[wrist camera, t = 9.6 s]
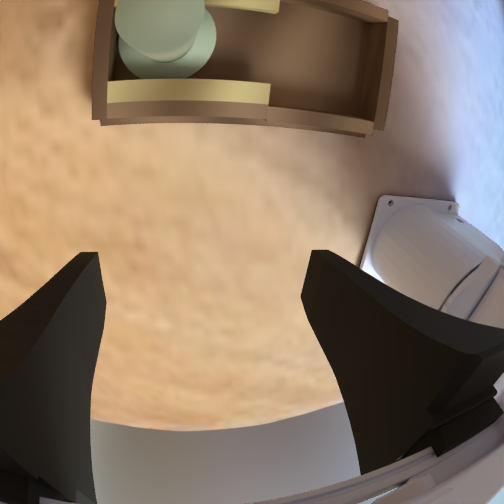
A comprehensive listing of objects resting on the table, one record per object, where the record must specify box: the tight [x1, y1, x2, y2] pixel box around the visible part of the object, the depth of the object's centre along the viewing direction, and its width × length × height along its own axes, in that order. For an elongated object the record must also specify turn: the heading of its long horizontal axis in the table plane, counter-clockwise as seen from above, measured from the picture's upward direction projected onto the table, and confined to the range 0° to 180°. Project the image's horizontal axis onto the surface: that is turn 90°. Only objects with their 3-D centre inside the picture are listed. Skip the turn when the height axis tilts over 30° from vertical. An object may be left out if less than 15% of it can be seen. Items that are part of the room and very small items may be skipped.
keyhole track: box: [92, 0, 399, 138], centre depth 14 cm, size 16×9×2 cm, turn 84°
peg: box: [115, 0, 216, 79], centre depth 10 cm, size 5×5×8 cm
